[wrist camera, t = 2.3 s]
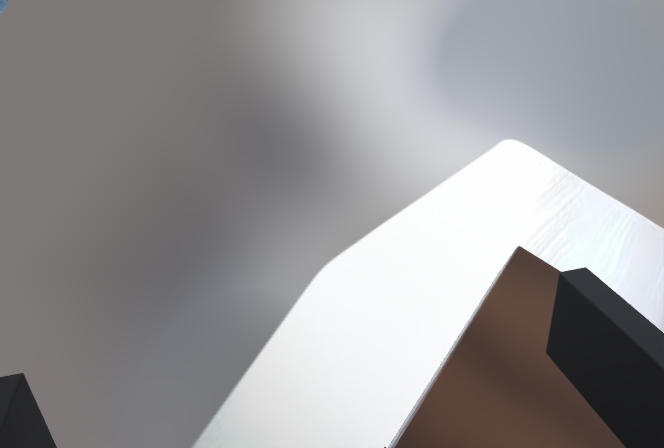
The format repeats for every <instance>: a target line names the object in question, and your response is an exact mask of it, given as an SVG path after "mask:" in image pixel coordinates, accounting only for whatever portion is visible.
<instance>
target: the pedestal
mask: <svg viewBox="0 0 664 448" xmlns="http://www.w3.org/2000/svg"><path fill="white" fill-rule="evenodd" d="M559 272H561V271H559V270H557V269H556V268H554V267H553V266H551V265H549V264H548V263H546V262H544V261H543V260H541V259H540V258H538V257H536V256H535V255H533V254H532V253H530V252H528V251H527V250H525V249H523V248H522V247H520V246H518V247H517V248H516V249H515V251H514V252H513V254H512V255H511V256H510V258H509V259H508V261H507V262H506V263H505V265H504V266H503V268H502V269H501V270H500V272H499V273H498V275H497V276H496V278H495V280H494V281H493V283H492V284H491V286H490V288H489V289H488V291H487V292H486V294H485V295H484V297H483V299H482V300H481V302H480V303H479V305H478V306H477V308H476V310H475V311H474V313H473V314H472V316H471V317H470V319H469V321H468V322H467V324H466V325H465V327H464V329H463V330H462V332H461V333H460V335H459V336H458V338H457V340H456V341H455V343H454V344H453V346H452V347H451V349H450V351H449V352H448V354H447V355H446V357H445V358H444V360H443V362H442V363H441V365H440V366H439V368H438V369H437V371H436V373H435V374H434V376H433V377H432V379H431V381H430V382H429V384H428V385H427V387H426V388H425V390H424V392H423V393H422V395H421V396H420V398H419V399H418V401H417V403H416V404H415V406H414V407H413V409H412V410H411V412H410V414H409V415H408V417H407V418H406V420H405V422H404V423H403V425H402V426H401V428H400V429H399V431H398V433H397V434H396V436H395V437H394V439H393V440H392V442H391V444H390V445H389V447H388V448H626V447H625V446H624V445H623V444H622V442H621V441H620V440H619V439H618V438H617V437H616V435H615V434H614V433H613V432H612V431H611V429H610V428H609V427H608V426H607V425H606V423H605V422H604V421H603V420H602V419H601V418H600V416H599V415H598V414H597V413H596V412H595V410H594V409H593V408H592V407H591V406H590V405H589V403H588V402H587V401H586V400H585V399H584V397H583V396H582V395H581V394H580V393H579V391H578V390H577V389H576V388H575V387H574V386H573V384H572V383H571V382H570V381H569V380H568V378H567V377H566V376H565V375H564V374H563V373H562V371H561V370H560V369H559V368H558V367H557V365H556V364H555V363H554V362H553V361H552V359H551V358H550V357H549V356H548V355H547V354H546V348H547V342H548V336H549V331H550V325H551V319H552V313H553V307H554V302H555V296H556V290H557V284H558V278H559ZM384 448H386V447H384Z"/></svg>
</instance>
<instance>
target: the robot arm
mask: <svg viewBox="0 0 664 448" xmlns="http://www.w3.org/2000/svg"><path fill="white" fill-rule="evenodd" d="M7 2H8V0H0V13H1V12H2V11H3V10H4V8H5V7H6V5H7ZM546 354H547V355H548V356H549V357H550V358H551V359H552V361H553V362H554V363H555V364H556V365H557V367H558V368H559V369H560V370H561V371H562V373H563V374H564V375H565V376H566V377H567V378H568V380H569V381H570V382H571V383H572V384H573V386H574V387H575V388H576V389H577V390H578V391H579V393H580V394H581V395H582V396H583V397H584V399H585V400H586V401H587V402H588V403H589V405H590V406H591V407H592V408H593V409H594V410H595V412H596V413H597V414H598V415H599V416H600V418H601V419H602V420H603V421H604V422H605V423H606V425H607V426H608V427H609V428H610V429H611V431H612V432H613V433H614V434H615V435H616V437H617V438H618V439H619V440H620V441H621V442H622V444H623V445H624V446H625V447H626V448H664V333H663V332H662V331H661V330H659V329H658V328H657V327H656V326H655V325H654V324H652V323H651V322H650V321H649V320H648V319H646V318H645V317H644V316H643V315H642V314H640V313H639V312H638V311H637V310H636V309H635V308H633V307H632V306H631V305H630V304H629V303H627V302H626V301H625V300H624V299H623V298H622V297H620V296H619V295H618V294H617V293H616V292H614V291H613V290H612V289H611V288H610V287H608V286H607V285H606V284H605V283H604V282H603V281H601V280H600V279H599V278H598V277H597V276H595V275H594V274H593V273H592V272H591V271H590V270H588V269H587V268H586V267H585V268H580V269H575V270H569V271H564V272H559V278H558V284H557V290H556V296H555V302H554V307H553V313H552V319H551V325H550V331H549V336H548V342H547V348H546ZM0 448H57V447H56V445H55V443H54V440H53V438H52V436H51V434H50V432H49V429H48V427H47V425H46V423H45V420H44V418H43V416H42V414H41V412H40V410H39V407H38V405H37V403H36V400H35V398H34V396H33V394H32V392H31V389H30V387H29V385H28V383H27V381H26V379H25V376H24V374H23V373H21V374H15V375H10V376H5V377H0Z"/></svg>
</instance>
